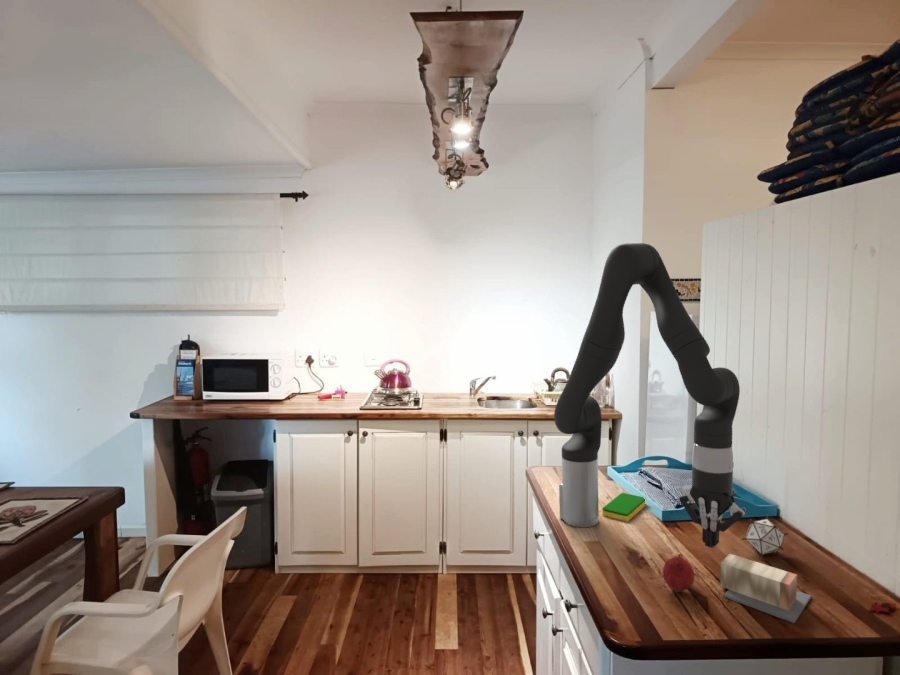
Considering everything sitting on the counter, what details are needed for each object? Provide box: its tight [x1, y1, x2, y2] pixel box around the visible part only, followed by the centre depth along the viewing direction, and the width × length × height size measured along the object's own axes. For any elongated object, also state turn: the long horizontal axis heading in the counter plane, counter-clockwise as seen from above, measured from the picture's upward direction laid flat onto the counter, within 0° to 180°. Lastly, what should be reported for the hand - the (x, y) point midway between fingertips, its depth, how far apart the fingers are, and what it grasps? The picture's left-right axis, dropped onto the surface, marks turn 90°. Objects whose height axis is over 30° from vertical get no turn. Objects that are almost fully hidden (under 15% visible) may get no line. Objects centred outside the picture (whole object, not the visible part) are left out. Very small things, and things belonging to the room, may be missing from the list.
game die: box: [740, 515, 789, 559], centre depth 120 cm, size 9×8×10 cm
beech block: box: [720, 553, 798, 611], centre depth 104 cm, size 5×5×12 cm
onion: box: [662, 552, 695, 593], centre depth 107 cm, size 6×6×8 cm
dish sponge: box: [601, 492, 646, 522], centre depth 147 cm, size 7×14×2 cm, turn 140°
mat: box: [723, 589, 812, 624], centre depth 104 cm, size 12×11×1 cm
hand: (710, 545), depth 111 cm, fingers closed
